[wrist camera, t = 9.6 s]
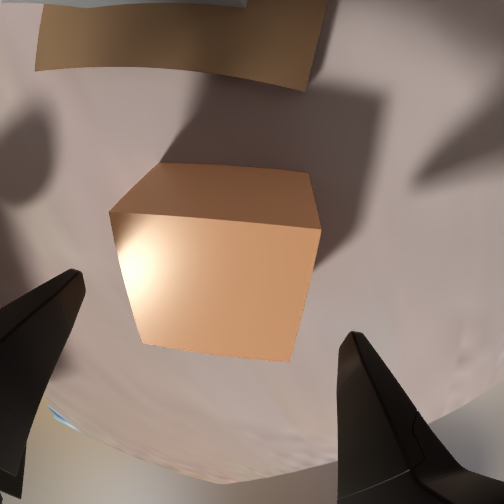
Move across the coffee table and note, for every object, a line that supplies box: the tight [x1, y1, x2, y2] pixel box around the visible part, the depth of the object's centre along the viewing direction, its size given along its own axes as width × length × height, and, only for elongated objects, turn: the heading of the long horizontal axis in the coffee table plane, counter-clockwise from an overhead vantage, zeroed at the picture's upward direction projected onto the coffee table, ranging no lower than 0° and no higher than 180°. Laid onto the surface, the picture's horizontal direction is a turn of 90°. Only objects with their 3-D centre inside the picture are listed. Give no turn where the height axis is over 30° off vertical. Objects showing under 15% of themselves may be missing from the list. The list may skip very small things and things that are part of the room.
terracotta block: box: [109, 163, 322, 362], centre depth 11 cm, size 6×6×4 cm
